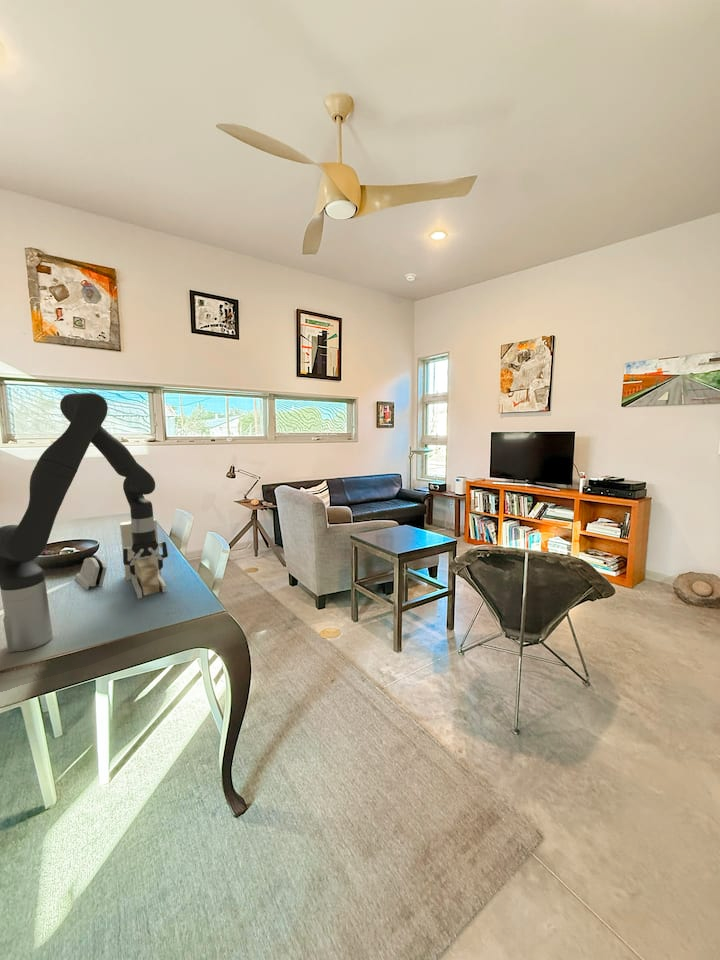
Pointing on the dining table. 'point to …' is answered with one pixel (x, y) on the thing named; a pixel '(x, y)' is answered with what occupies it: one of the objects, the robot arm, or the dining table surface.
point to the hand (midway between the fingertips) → (147, 571)
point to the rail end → (147, 576)
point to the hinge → (91, 573)
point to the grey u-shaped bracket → (127, 542)
